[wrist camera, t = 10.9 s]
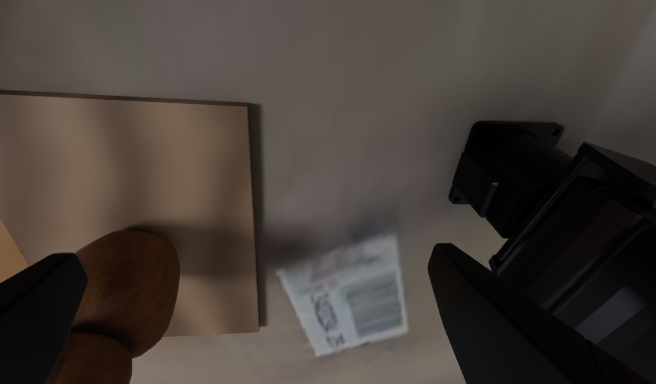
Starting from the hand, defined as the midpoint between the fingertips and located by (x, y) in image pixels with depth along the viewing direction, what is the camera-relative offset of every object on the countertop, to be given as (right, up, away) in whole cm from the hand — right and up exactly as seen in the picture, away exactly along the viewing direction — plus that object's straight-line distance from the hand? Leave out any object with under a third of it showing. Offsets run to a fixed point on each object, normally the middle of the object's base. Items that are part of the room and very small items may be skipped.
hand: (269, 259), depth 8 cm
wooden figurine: (-12, -2, +15) cm, 19 cm away
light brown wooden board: (-12, -2, +16) cm, 20 cm away
